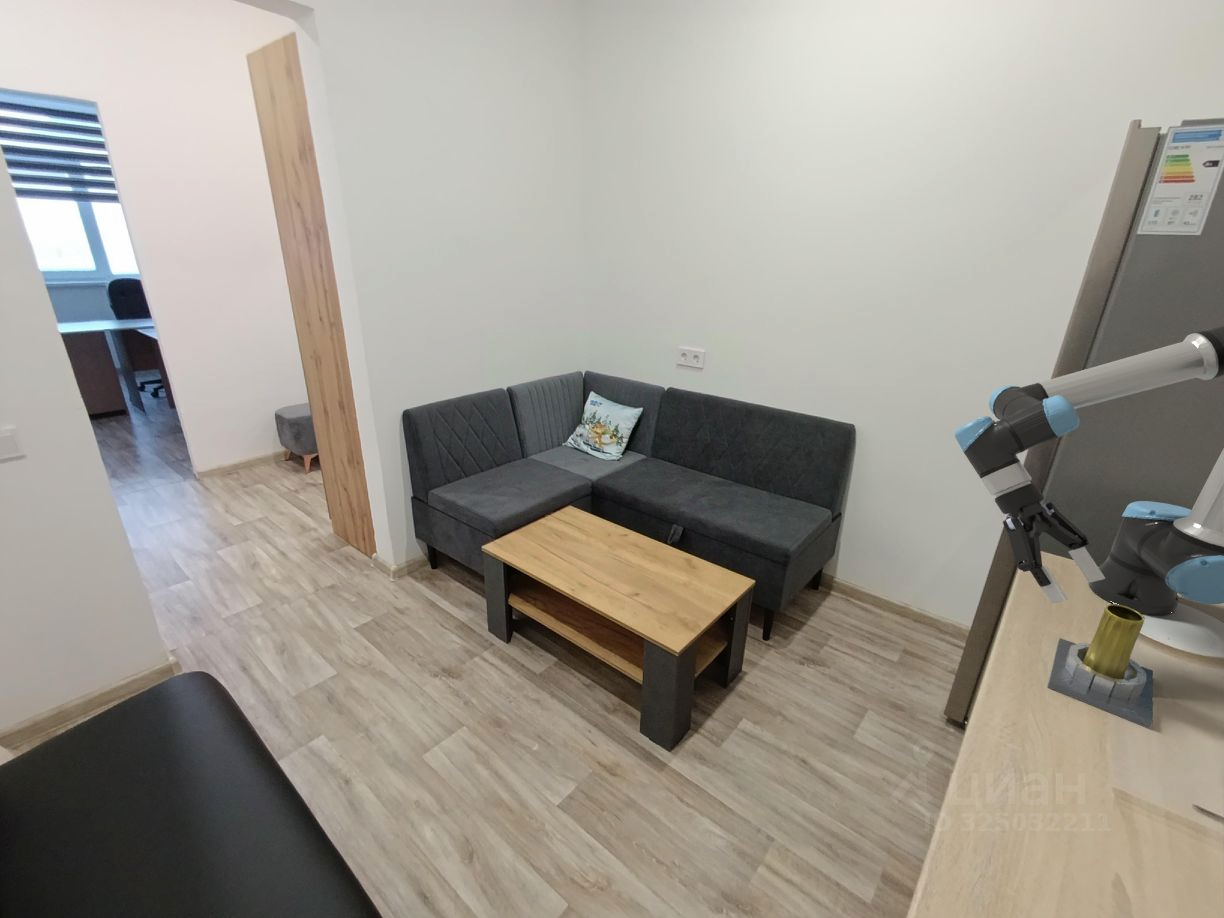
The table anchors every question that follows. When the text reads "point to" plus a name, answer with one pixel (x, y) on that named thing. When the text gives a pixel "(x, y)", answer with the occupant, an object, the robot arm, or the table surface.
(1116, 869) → the table surface
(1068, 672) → the collar stand
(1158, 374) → the robot arm
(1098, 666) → the vase
